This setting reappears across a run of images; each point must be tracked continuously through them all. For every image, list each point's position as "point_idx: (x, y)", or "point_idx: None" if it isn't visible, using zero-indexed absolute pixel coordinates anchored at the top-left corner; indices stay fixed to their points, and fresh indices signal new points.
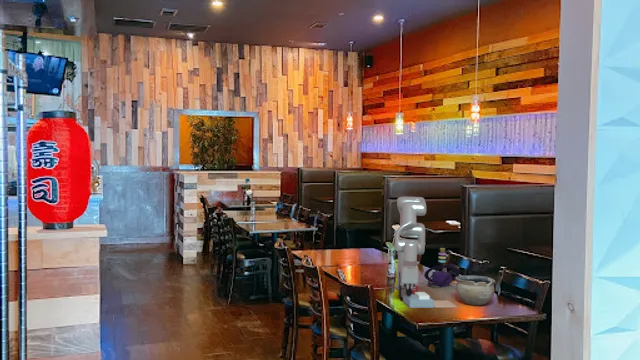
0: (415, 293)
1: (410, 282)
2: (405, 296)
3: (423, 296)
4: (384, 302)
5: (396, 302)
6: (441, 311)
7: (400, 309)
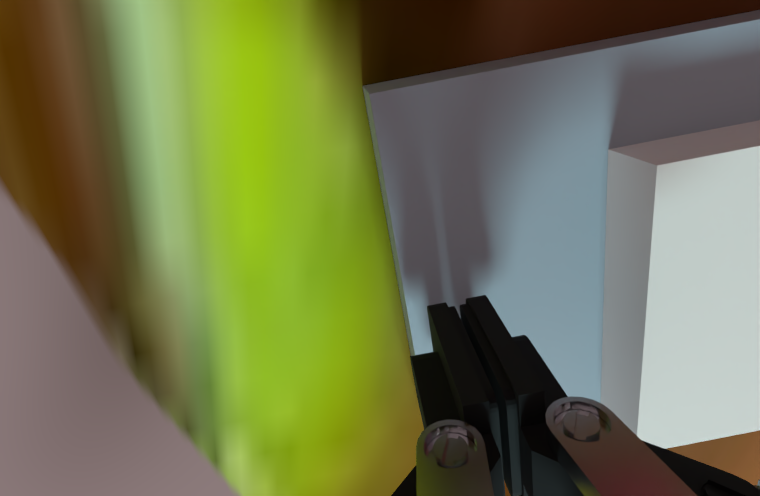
0: (641, 236)
1: None
2: (399, 268)
3: (706, 429)
4: (46, 222)
5: (247, 187)
6: (732, 470)
7: (301, 490)
